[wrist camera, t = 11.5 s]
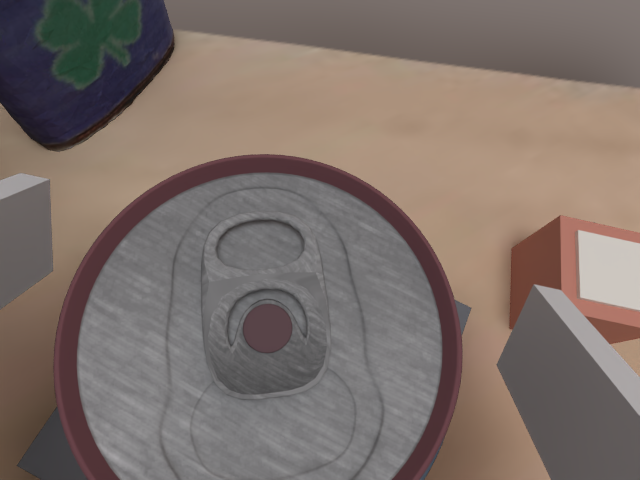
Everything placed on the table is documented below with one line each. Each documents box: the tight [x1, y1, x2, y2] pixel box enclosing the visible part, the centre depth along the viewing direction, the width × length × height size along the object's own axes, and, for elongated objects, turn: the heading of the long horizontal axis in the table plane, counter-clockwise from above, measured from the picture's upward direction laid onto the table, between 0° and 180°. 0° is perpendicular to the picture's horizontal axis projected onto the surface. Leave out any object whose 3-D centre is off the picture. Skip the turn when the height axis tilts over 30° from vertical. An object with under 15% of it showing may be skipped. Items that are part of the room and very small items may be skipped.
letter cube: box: [509, 215, 640, 344], centre depth 19 cm, size 4×4×4 cm
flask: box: [0, 0, 174, 152], centre depth 18 cm, size 9×3×11 cm, turn 147°
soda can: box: [53, 154, 462, 480], centre depth 12 cm, size 7×7×12 cm
